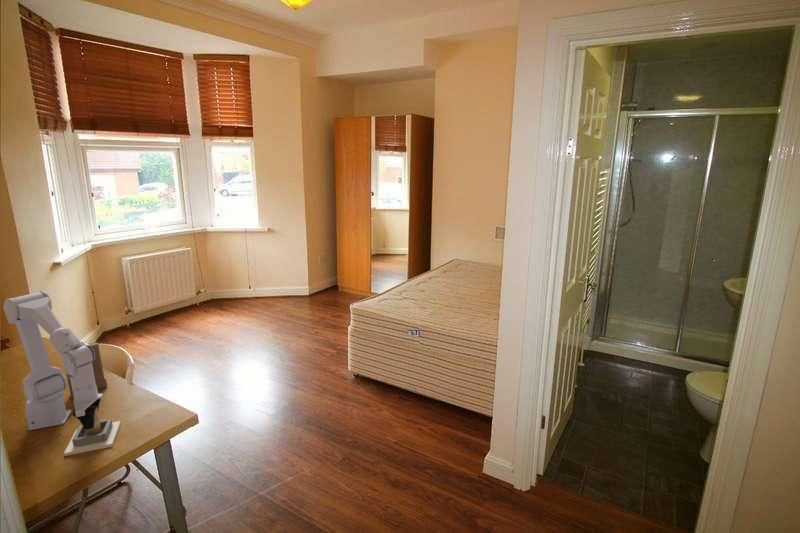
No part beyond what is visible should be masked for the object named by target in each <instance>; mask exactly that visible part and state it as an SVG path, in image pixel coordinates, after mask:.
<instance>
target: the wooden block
mask: <svg viewBox="0 0 800 533" xmlns="http://www.w3.org/2000/svg"><path fill="white" fill-rule="evenodd" d="M88 344H89V345H90V346H91V347H92V349H93V350H94V353H95V360H94V361H92V362H91V363H92V366H93V372H94V377H95V383H96V385H97V391H99V390H102V389H104V388H107V387H108V383H107V378H106V377H105V374H104V368H103V363H102V362H103V361H102V358H101V352H100V346H99V343H98V342H96V341H95V342H89V343H88ZM64 370H65V373H66V379H67V382H68V389H69V393H70V396H71V397H72V398H73V399H74V396H73V391H72V386H71V381H70V376H69V374H67V372H66V369H65V368H64Z"/></svg>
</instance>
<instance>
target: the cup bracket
mask: <svg viewBox="0 0 800 533" xmlns="http://www.w3.org/2000/svg"><path fill="white" fill-rule="evenodd" d="M100 425H101V432H100V433H98V434H95V435H90V436H86V434H85V429H84V427H83V425H82V424H80V425H79V426H78V427H77V429H76V430H75V431H74V433H73V435H72V437H71V439H70V440H69V443H68V445H67V447H66V448H65V451H64V453H63V455H64V457H66V456H72V455H77V454H81V453H87V452H91V451H97V450H102V449H106V448H111V447H113V446H114V444H115V441H116V438H117V436H118V433H119V430H120V427H121V425H122V421H121V420H118V421H113V420H112V418H111V419H101V420H100Z"/></svg>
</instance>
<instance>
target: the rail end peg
mask: <svg viewBox="0 0 800 533" xmlns="http://www.w3.org/2000/svg"><path fill="white" fill-rule="evenodd" d="M89 407H90V408H92V407H96V410H95V413H94V427H93V428H91V429H86V430H85V434H86V436H90V435H95V434H98V433H100V432H101V425H100V421H101V420H100V415H99V410H98V409H97V406H89Z"/></svg>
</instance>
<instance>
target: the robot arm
mask: <svg viewBox="0 0 800 533" xmlns="http://www.w3.org/2000/svg"><path fill="white" fill-rule="evenodd" d="M52 304H53V303H52V299H51V297H50V295H49V293H47V292H46V291H44V290H39V291H38V292H37V291H36V292H33V293H29V294H25V295H20V296H16V297H11V298H9V297H8V298H6V299H5V300H4V302H3V306H2V307H3V310H4V314H5V317H6V320H7V322H8V324H11V325H12V324H13V325H15V326H16V329H17V331H18V335H19V339H20V342H21V344H22V347H23V350H24V353H25V356H26V359H27V361H28V362H27V363H28V364H29V365H28V366H29V368H30V369H29V370H30V372H29V373H28V374H27V376H26V377H25V378H24V379H23V380H22V385H23V394H24V396H25V398H26V399H27V400H26V402H25V406H24V412H25V418H26V421H27V425H28V428H27V429H28V431H32V430H38V429H43V428H48V427H49V428H50V427H54V426H55V427H56V426H59V425H60V426H61V425H64V424H65V423H66V422H67V420H68V418H69V416H70V414H71V413H72V416H73V417H75V418H76V419H77V420H79V422H80V423H81V424H80V425H83V427H84V429H85V430H86V429H91V428H93V427H94V413H95V410H96V407H92V408H90V407H89V406H97V409H98V411H99V407H100V402H101V399H102V398H103V396H104V395H103V393H98V392H99V391H98V390H97V385H96V383H95V377H94V372H93V366H92V363H91V362H92V361H94V360H95V353H94V350H93V349H92V347H91V346H90V345H89V343H86V342H85V341H80V339H79V338H78V337H77V335H76V334H75V333H74V332H73V330H71V329H70V328H67V327H63V326H62V324H61V323H60V321H59V320H58V318H57V317H56V315H55V314H54V313H53V311H52V309H53V308H52V307H53V305H52ZM39 326H40V327H41V328H42V329H43V330H44V331H45V332H46V333H47V334H48V335H49V337H48V341H49V343H50V344H51V345H52V346H53V347H54V349H55V350H56V351H57V352H58V354H59V355H60V356H61V359H60V360H61V363H62V365H63V367H64V370H65V369H66V370H65V373H66V372H67V374H69V376H70V381H71V386H72V391H73V396H74V398H73V404H74V407H75V408H74V409H73V410H72V409H66V404H65V398H64V395H63V394H64V393H65V390H66V389H67V387H68V386H69V384H68V380H67V376H65V375H64V373H63V369H61V368H60V367H57V366H52V364H51V362H50V359H49V356H48V352H47V349H46V347H45V344H44V340H43V337H42V334H41V331H40V328H39ZM67 374H66V375H67Z"/></svg>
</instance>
